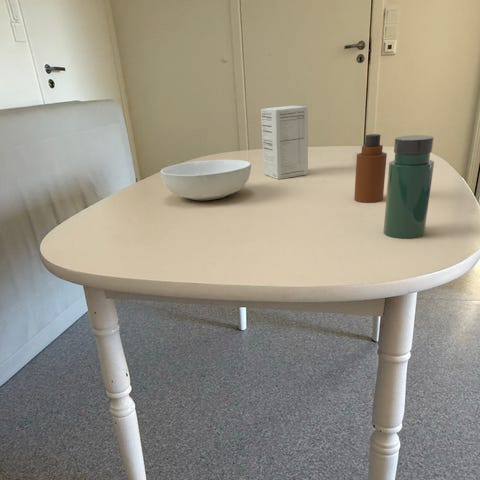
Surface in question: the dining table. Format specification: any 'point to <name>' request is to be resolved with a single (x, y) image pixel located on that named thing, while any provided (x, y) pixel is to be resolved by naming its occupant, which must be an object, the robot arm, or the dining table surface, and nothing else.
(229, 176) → the serving bowl
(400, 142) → the green bottle
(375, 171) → the amber bottle
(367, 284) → the dining table surface
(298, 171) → the supplement box
